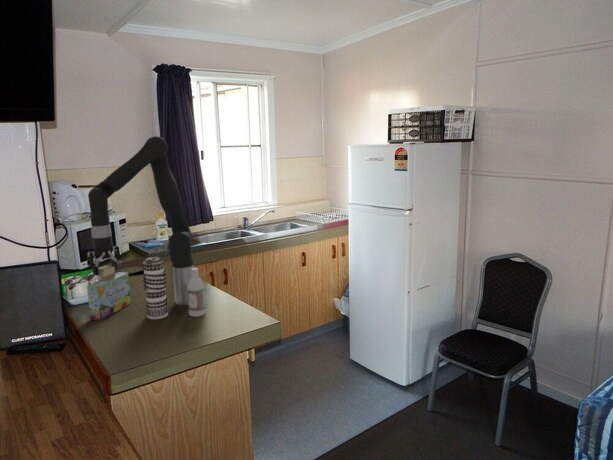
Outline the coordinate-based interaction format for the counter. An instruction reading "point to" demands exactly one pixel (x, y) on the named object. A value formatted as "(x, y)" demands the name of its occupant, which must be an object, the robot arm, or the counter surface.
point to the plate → (131, 264)
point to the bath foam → (196, 295)
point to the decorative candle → (155, 288)
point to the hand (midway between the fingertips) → (105, 272)
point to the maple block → (106, 273)
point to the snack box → (108, 296)
